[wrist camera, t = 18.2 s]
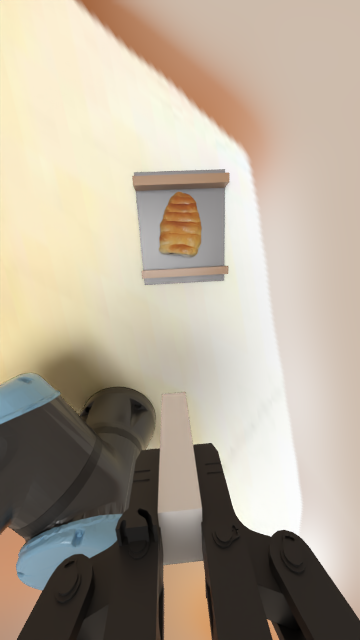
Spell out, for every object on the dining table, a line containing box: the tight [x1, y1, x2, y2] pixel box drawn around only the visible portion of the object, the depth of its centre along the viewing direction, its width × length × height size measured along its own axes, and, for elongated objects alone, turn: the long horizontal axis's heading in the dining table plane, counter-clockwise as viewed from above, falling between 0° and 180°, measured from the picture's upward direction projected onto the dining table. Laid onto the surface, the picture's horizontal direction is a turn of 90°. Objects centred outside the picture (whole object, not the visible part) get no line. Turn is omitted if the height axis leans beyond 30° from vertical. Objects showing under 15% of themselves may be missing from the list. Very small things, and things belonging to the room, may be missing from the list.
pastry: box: [159, 192, 202, 258], centre depth 33 cm, size 9×7×4 cm
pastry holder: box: [132, 169, 229, 285], centre depth 34 cm, size 14×17×3 cm
